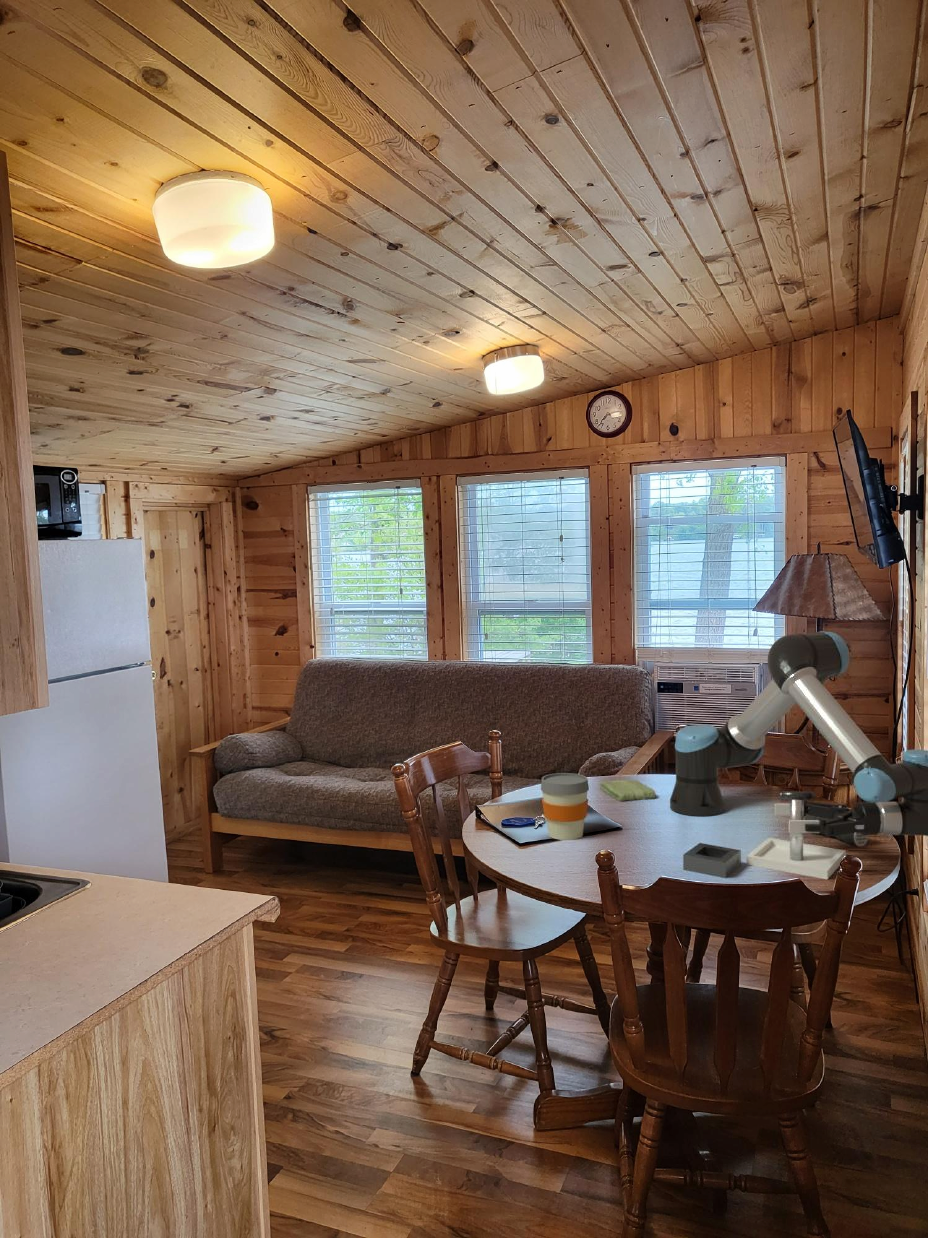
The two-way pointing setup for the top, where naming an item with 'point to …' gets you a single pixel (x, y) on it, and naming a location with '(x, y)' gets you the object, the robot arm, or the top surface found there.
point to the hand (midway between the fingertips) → (781, 817)
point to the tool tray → (814, 861)
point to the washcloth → (627, 790)
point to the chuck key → (796, 814)
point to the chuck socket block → (712, 860)
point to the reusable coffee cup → (565, 804)
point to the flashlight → (849, 838)
